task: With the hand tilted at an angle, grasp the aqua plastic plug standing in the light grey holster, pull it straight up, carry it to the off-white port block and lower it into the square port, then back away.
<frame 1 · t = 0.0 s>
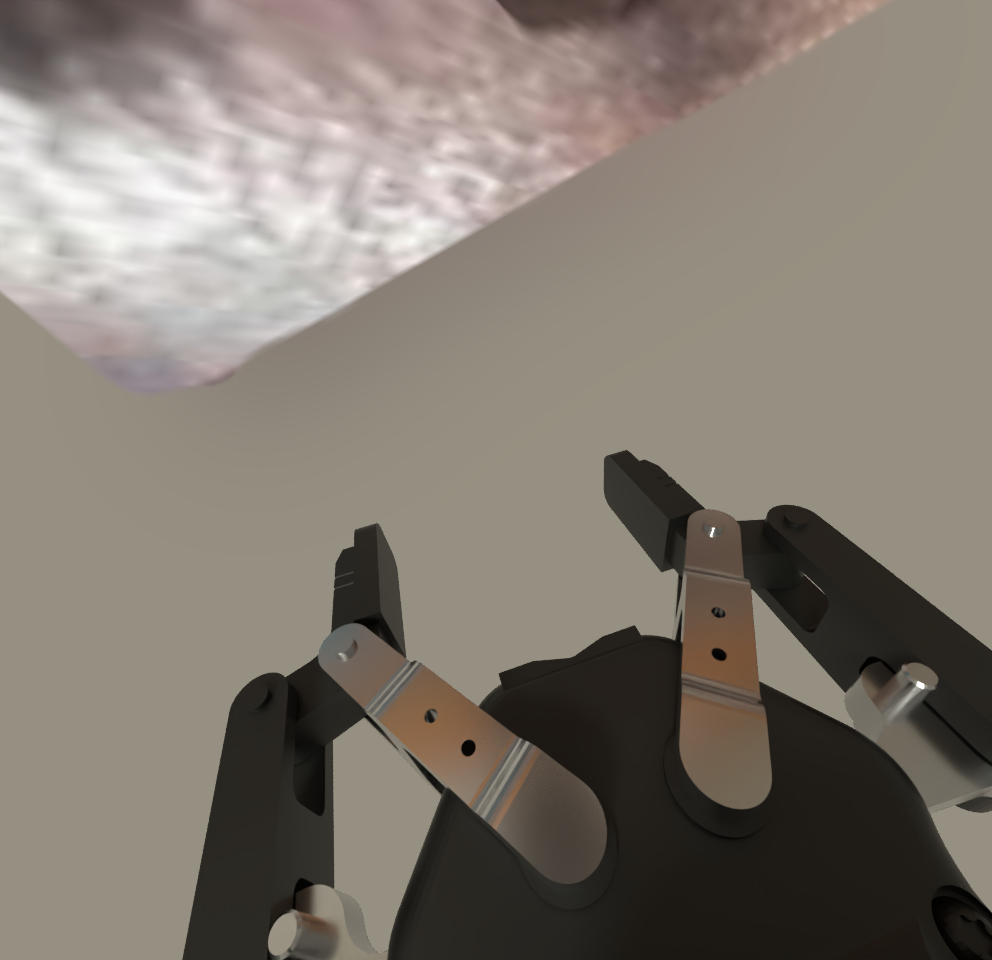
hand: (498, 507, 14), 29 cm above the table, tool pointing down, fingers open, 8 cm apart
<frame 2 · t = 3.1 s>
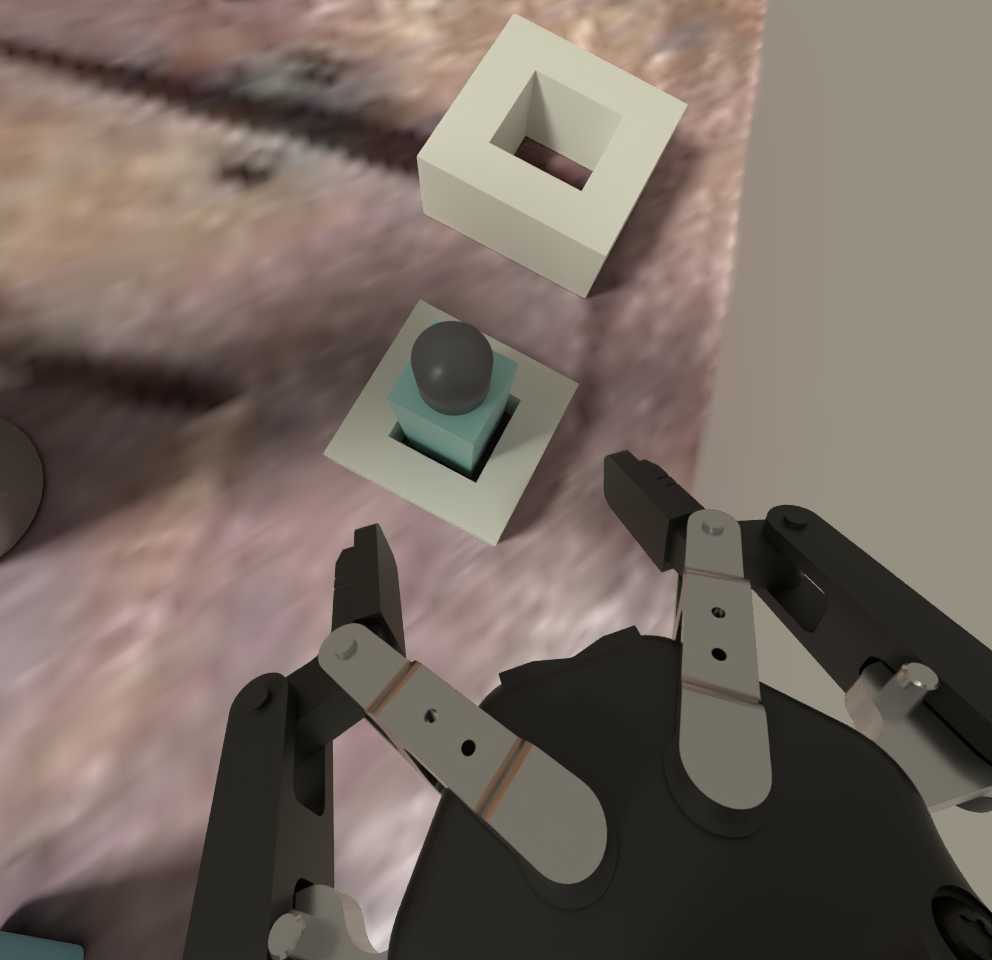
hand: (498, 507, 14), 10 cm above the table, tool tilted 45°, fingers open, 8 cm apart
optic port: (544, 188, 28), on the table
holster: (456, 432, 25), on the table
plug: (455, 405, 20), in the holster
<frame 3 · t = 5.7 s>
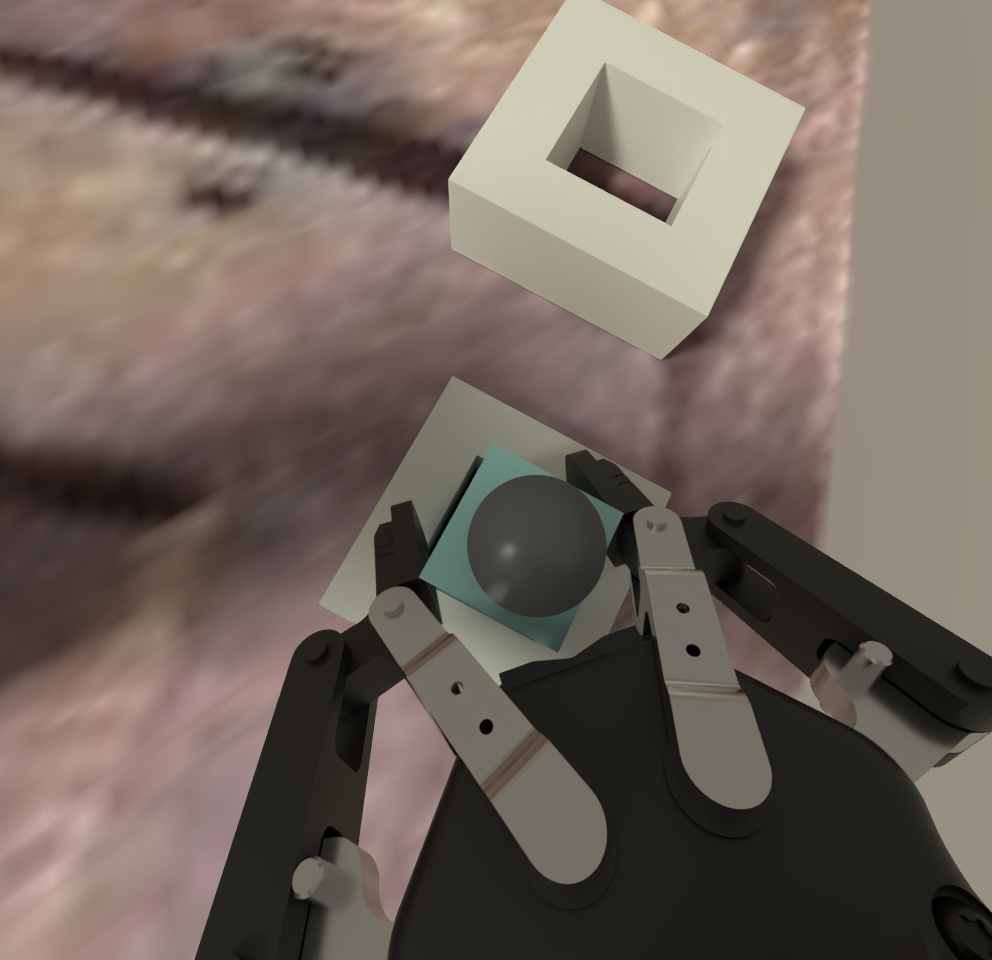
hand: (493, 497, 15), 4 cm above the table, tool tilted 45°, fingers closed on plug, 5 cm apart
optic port: (605, 214, 22), on the table
holster: (498, 545, 19), on the table
plug: (511, 544, 14), in the holster, touching gripper
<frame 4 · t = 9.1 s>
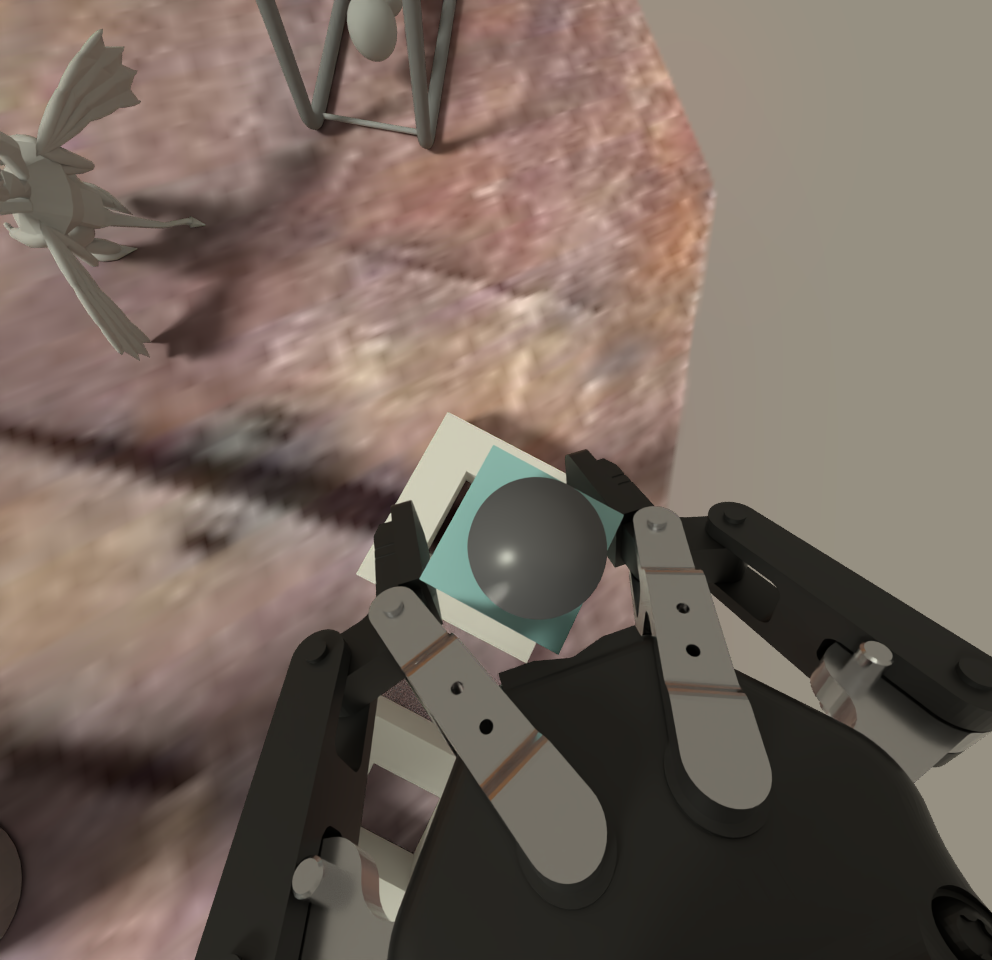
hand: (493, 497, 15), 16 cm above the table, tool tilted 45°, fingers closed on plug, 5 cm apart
newton's cradle: (396, 17, 37), on the table
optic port: (482, 534, 30), on the table
holster: (398, 796, 27), on the table
plug: (511, 545, 14), point 17 cm above the table, touching gripper
fairy figurine: (142, 268, 32), on the table
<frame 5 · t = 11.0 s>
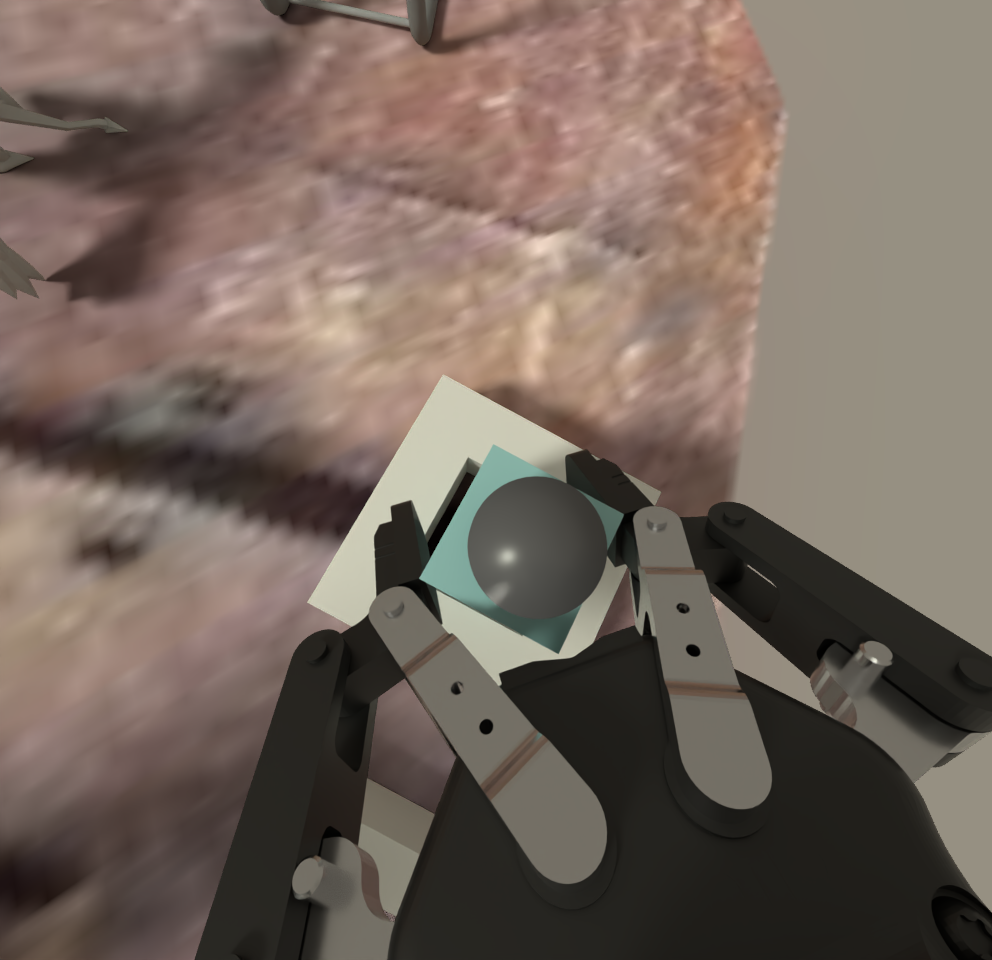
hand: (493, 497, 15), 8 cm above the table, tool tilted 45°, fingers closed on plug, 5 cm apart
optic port: (488, 544, 23), on the table
holster: (366, 911, 19), on the table
plug: (511, 545, 14), point 9 cm above the table, touching gripper
fairy figurine: (39, 185, 24), on the table
when the fingers open (7 cm above the table, at t = 12.4 s): plug drops 2 cm, resting in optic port.
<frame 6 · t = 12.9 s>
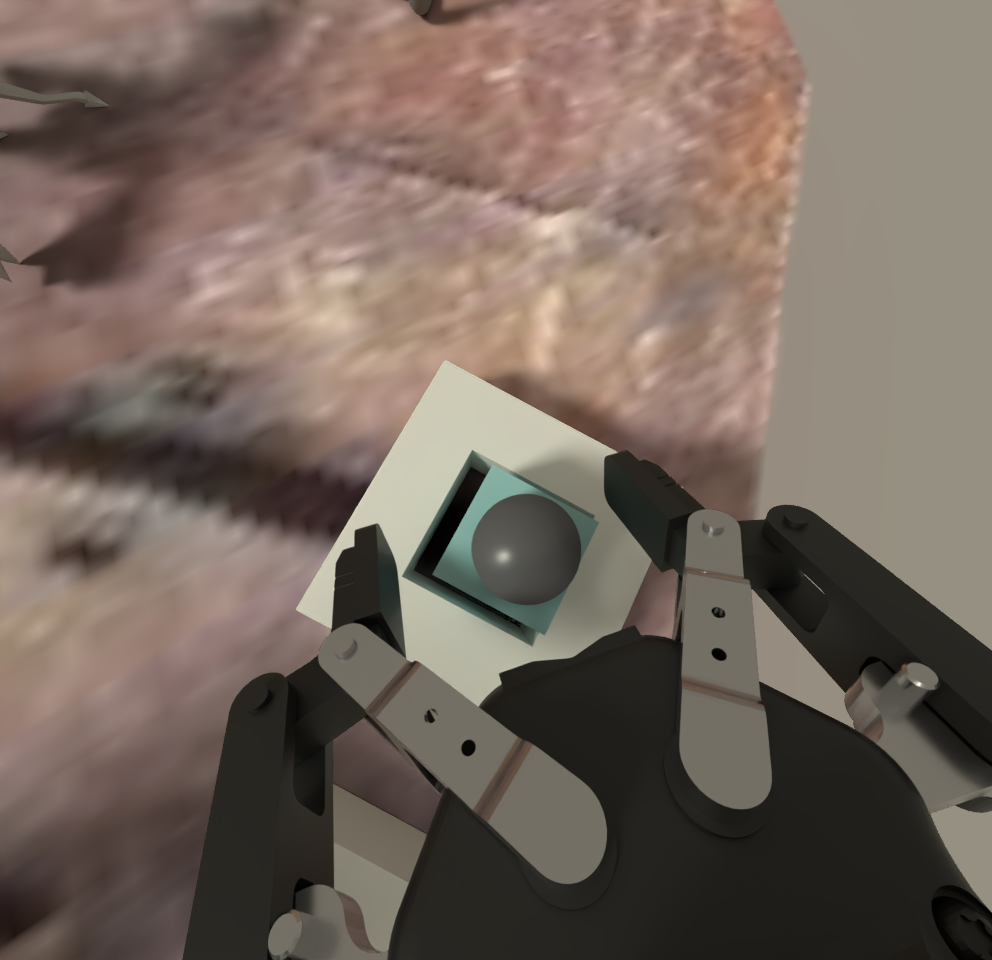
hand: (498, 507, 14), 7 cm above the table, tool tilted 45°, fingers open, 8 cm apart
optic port: (494, 545, 21), on the table
holster: (362, 947, 18), on the table
plug: (508, 547, 16), in the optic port
fairy figurine: (15, 163, 22), on the table
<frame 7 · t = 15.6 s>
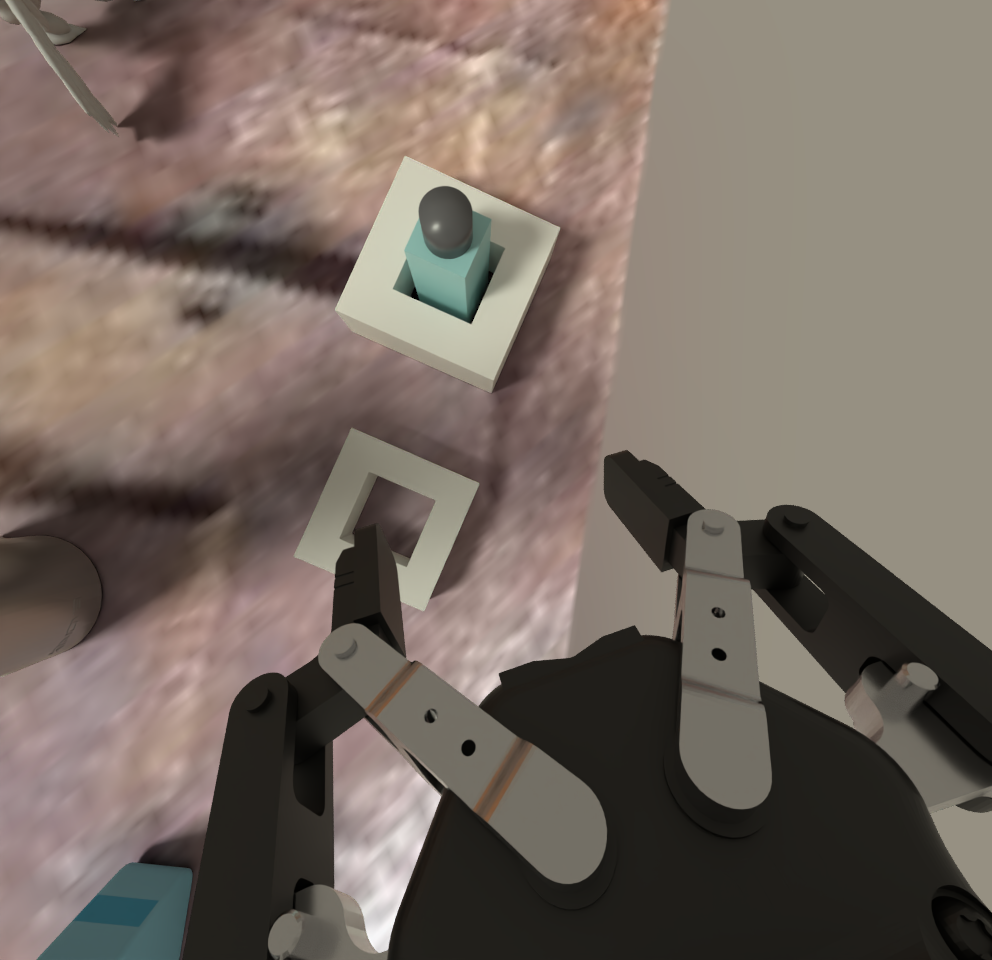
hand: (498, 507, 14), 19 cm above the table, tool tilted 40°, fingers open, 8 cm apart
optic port: (452, 294, 33), on the table
holster: (396, 516, 32), on the table
plug: (451, 261, 28), in the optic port
fairy figurine: (95, 51, 32), on the table
data package: (156, 929, 31), on the table
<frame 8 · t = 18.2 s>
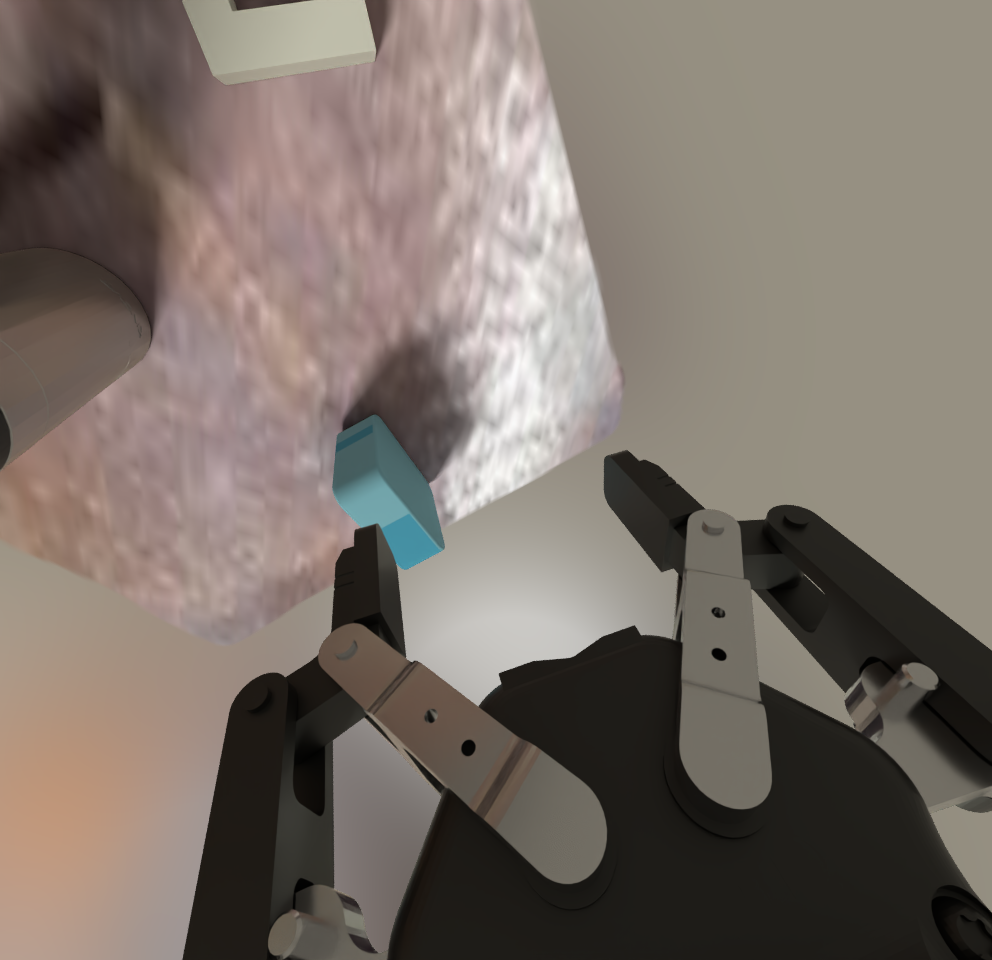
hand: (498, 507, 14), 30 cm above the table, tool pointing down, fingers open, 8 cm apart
data package: (387, 458, 46), on the table
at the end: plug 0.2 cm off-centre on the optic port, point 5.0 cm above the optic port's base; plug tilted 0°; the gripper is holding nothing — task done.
